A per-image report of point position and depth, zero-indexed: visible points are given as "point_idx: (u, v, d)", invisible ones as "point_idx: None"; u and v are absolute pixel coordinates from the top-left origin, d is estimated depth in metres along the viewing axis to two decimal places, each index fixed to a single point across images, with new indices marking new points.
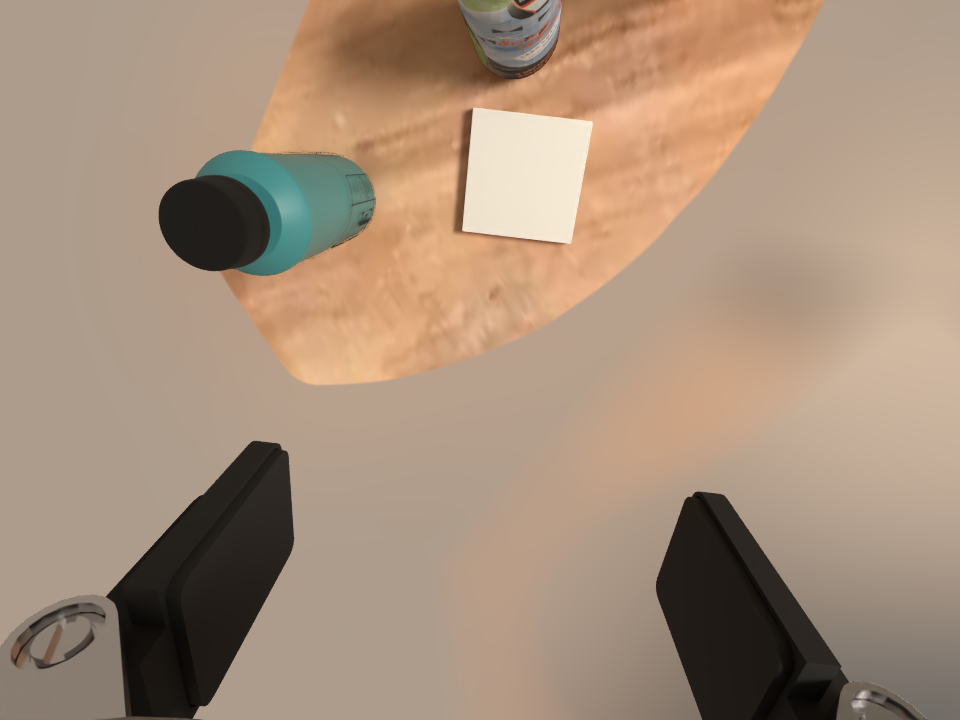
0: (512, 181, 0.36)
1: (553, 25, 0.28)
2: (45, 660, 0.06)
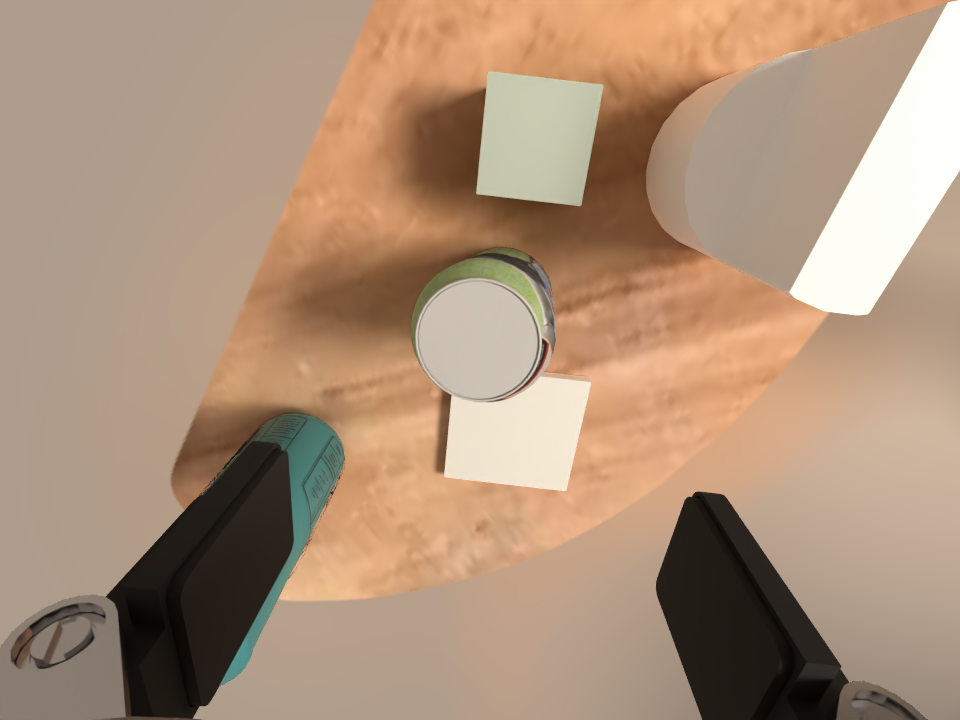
0: (500, 434, 0.32)
1: None
2: (45, 660, 0.06)
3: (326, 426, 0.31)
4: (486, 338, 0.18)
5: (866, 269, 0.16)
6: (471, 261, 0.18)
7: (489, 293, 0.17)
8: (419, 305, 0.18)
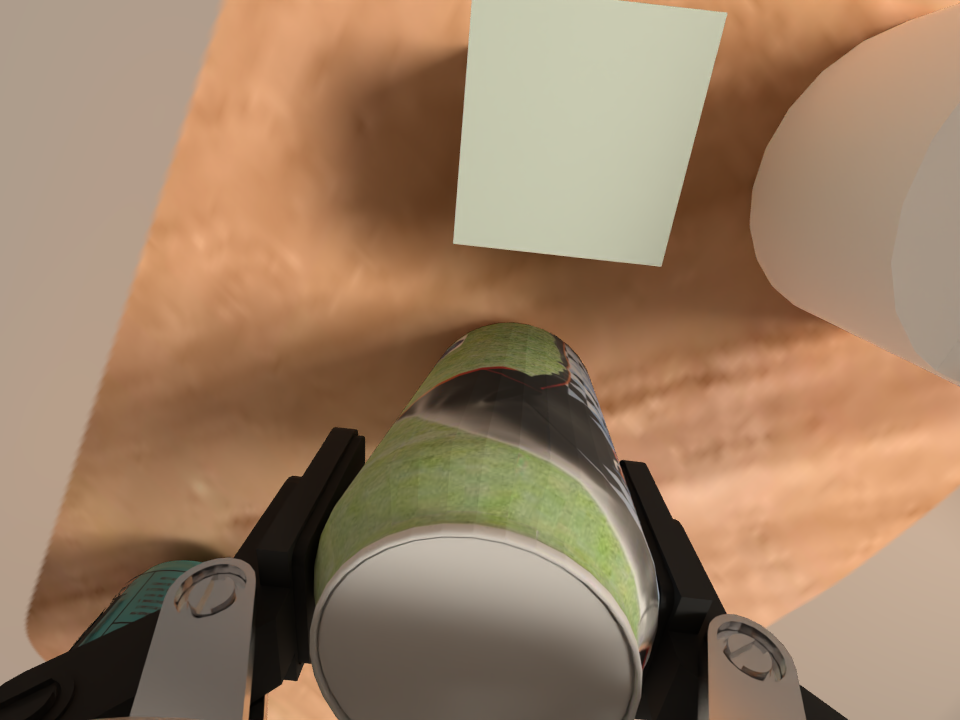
0: None
1: None
2: (197, 609, 0.07)
3: None
4: (493, 665, 0.07)
5: None
6: (448, 451, 0.07)
7: (497, 567, 0.06)
8: (324, 555, 0.07)
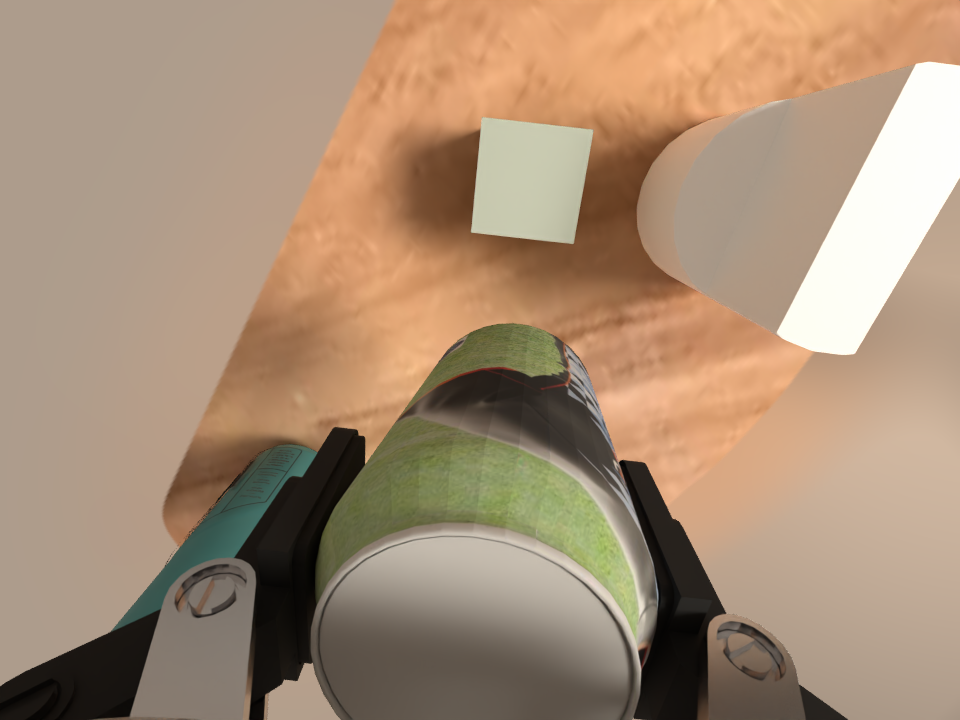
0: None
1: None
2: (197, 609, 0.07)
3: None
4: (493, 664, 0.07)
5: (850, 311, 0.16)
6: (448, 451, 0.07)
7: (497, 566, 0.06)
8: (325, 554, 0.07)
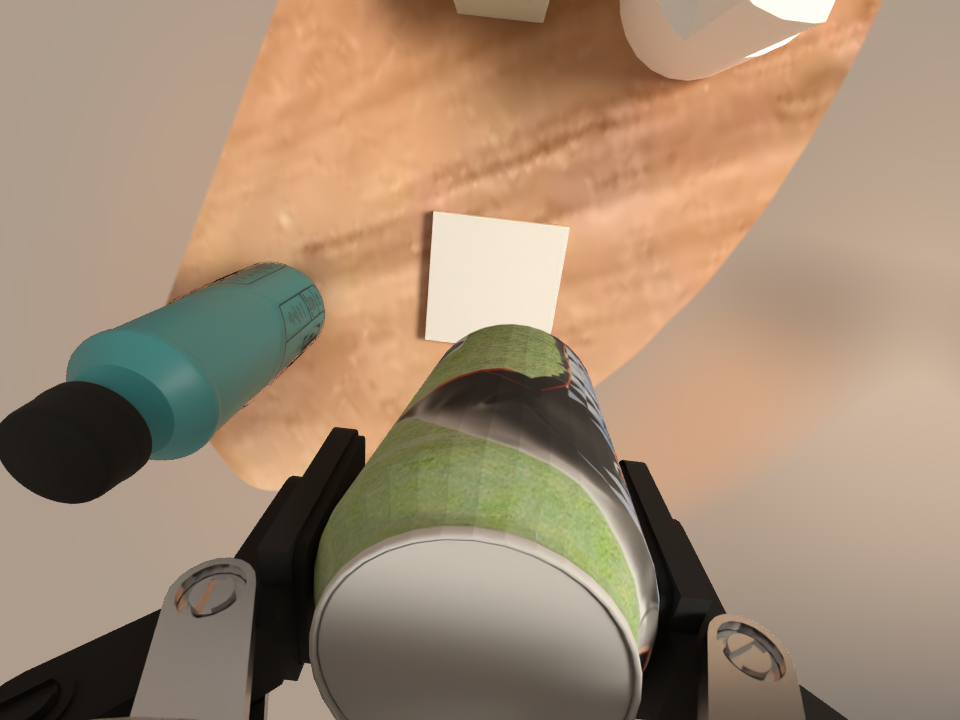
0: (480, 288, 0.32)
1: None
2: (197, 609, 0.07)
3: (306, 276, 0.31)
4: (493, 667, 0.07)
5: None
6: (448, 453, 0.07)
7: (497, 570, 0.06)
8: (324, 557, 0.07)
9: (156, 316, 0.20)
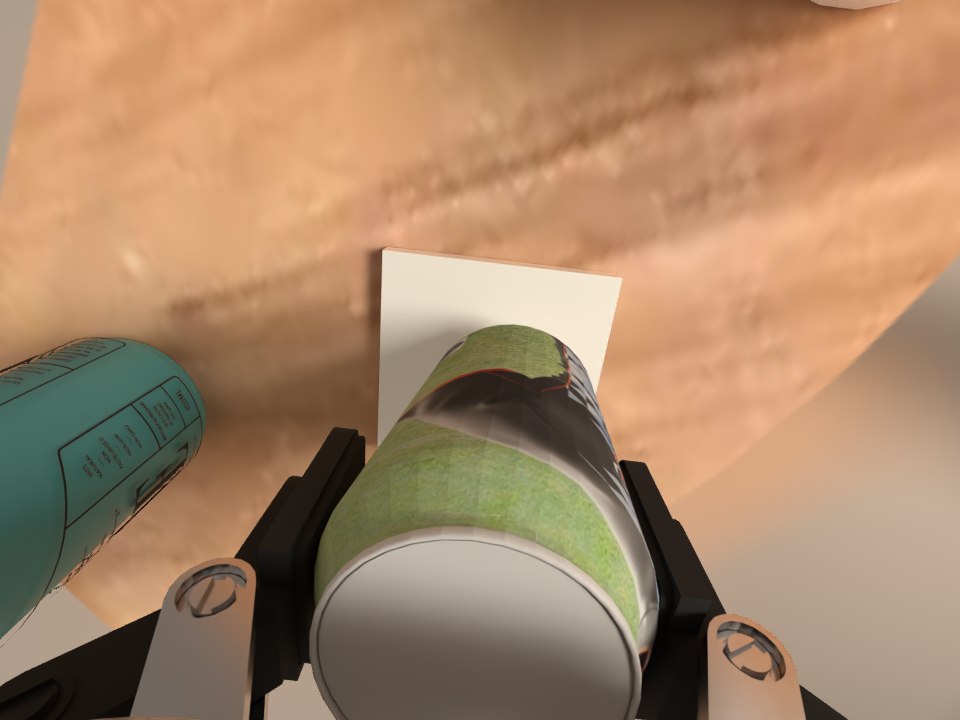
0: None
1: None
2: (197, 609, 0.07)
3: (166, 360, 0.18)
4: (493, 667, 0.07)
5: None
6: (447, 453, 0.07)
7: (497, 569, 0.06)
8: (324, 557, 0.07)
9: None
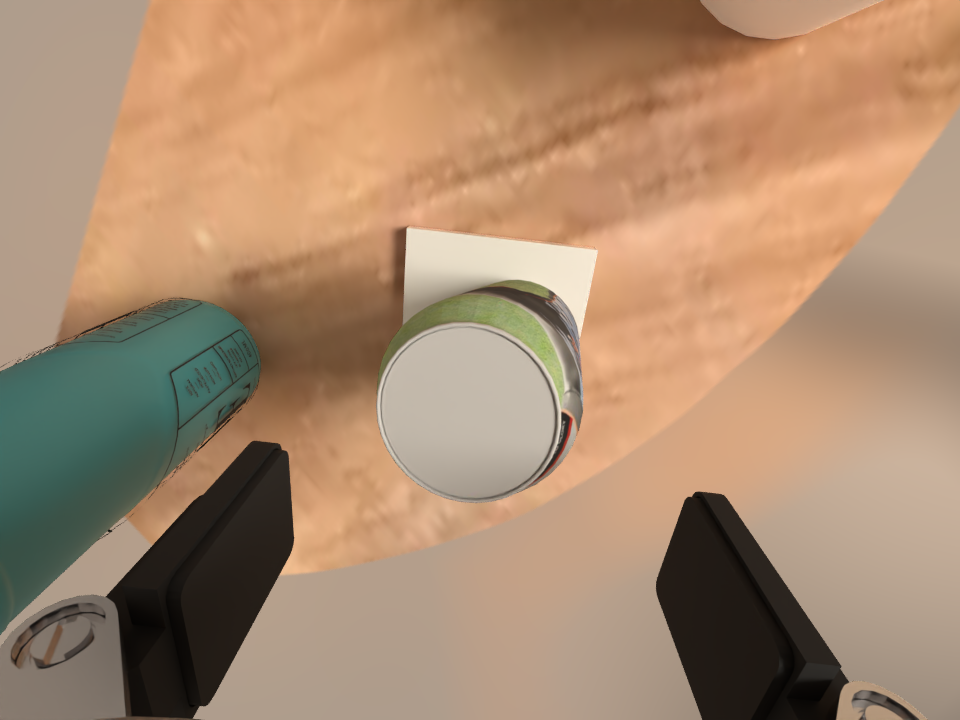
0: None
1: None
2: (45, 660, 0.06)
3: (232, 317, 0.22)
4: (478, 411, 0.12)
5: None
6: (459, 298, 0.13)
7: (482, 345, 0.11)
8: (386, 360, 0.13)
9: None
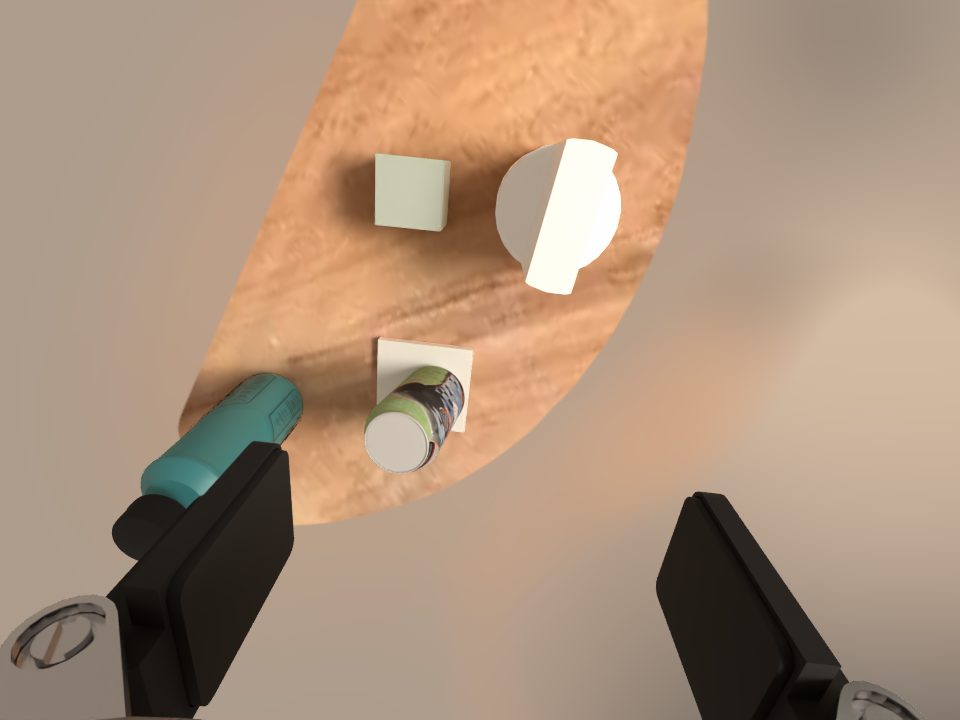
0: None
1: None
2: (45, 660, 0.06)
3: (289, 382, 0.44)
4: (400, 441, 0.34)
5: (563, 269, 0.29)
6: (394, 399, 0.34)
7: (400, 419, 0.33)
8: (367, 422, 0.35)
9: (192, 441, 0.33)
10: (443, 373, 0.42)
